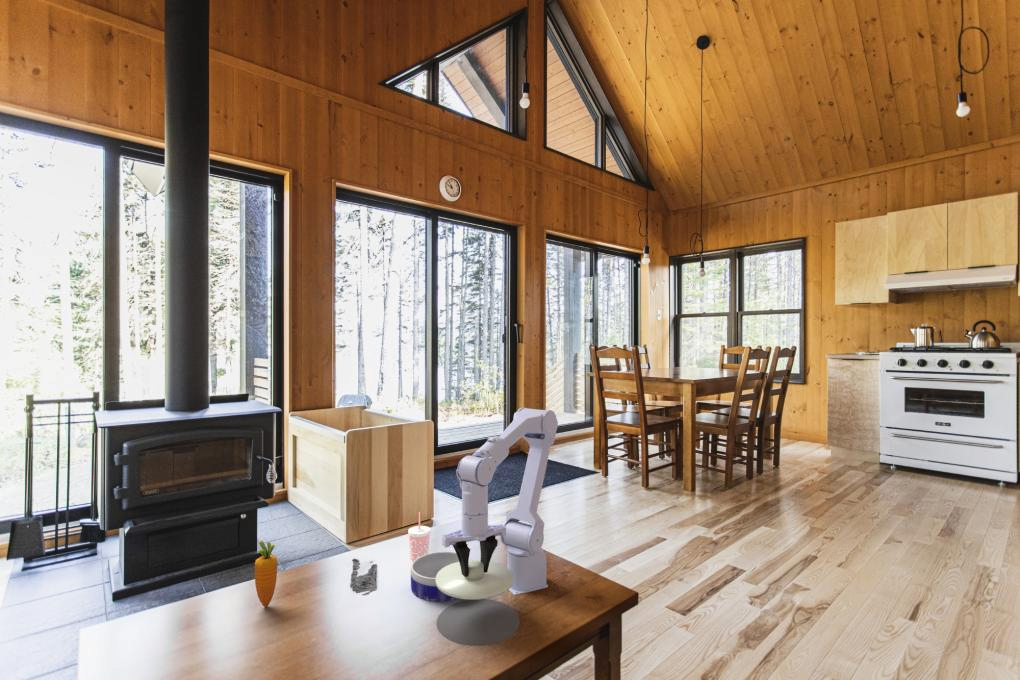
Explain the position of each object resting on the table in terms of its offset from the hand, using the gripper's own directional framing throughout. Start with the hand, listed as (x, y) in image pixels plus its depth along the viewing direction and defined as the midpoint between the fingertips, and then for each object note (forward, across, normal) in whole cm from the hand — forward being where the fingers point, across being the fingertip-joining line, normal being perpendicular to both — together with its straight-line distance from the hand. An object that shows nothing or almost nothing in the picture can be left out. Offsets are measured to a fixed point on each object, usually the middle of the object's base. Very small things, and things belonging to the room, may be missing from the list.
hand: (474, 573), depth 111 cm
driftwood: (+11, -18, +30) cm, 36 cm away
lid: (+2, 0, 0) cm, 2 cm away
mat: (+10, 0, -2) cm, 10 cm away
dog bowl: (+10, -2, +16) cm, 19 cm away
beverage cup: (+10, -3, +32) cm, 34 cm away
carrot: (+10, -41, +25) cm, 49 cm away
